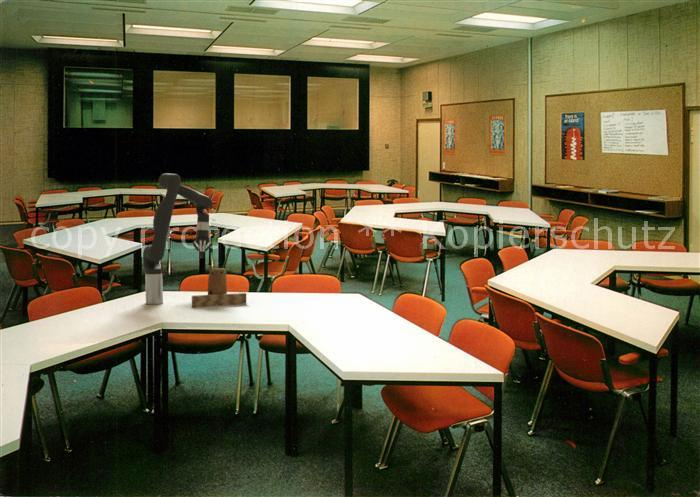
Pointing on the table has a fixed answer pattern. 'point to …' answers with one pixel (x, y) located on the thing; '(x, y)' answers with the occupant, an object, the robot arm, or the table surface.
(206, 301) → the board
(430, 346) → the table surface
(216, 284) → the block
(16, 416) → the table surface
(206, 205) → the robot arm
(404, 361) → the table surface
